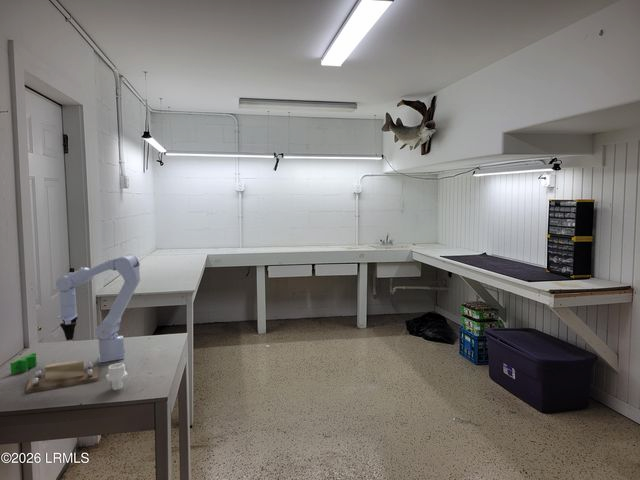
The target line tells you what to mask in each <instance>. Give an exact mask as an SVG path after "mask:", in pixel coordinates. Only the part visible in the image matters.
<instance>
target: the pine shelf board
mask: <svg viewBox="0 0 640 480" xmlns="http://www.w3.org/2000/svg"><path fill="white" fill-rule="evenodd" d="M84 368H85V360H84V359H79V360H72V361H64V362H59V363H52V364H46V365H45V366H44V375H45V377H46V381H52V380H58V379H65V378H71V377H77V376H83V375H84Z"/></svg>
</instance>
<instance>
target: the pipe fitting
mask: <svg viewBox="0 0 640 480" xmlns="http://www.w3.org/2000/svg"><path fill="white" fill-rule="evenodd" d="M125 366H126V365H125V364H124V363H123V362H117V363H112V364H109V366H108V367H107V370H108V372H107V373H108V374H105V378H106V380H107V382H111V387H112V390H114V391H117V389H118V390H121V389H122V388H123V380H124V379H126V378H129V377H128V376H129V375H128V372H127V371H126V368H125Z"/></svg>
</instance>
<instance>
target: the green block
mask: <svg viewBox="0 0 640 480" xmlns="http://www.w3.org/2000/svg"><path fill="white" fill-rule="evenodd" d="M37 366H38V365H37V353H36V352H32V353H30V354H28V355H25V356H24V357H21V358H19V359H16V360H14V361H12V362H10V373H11V375H16V374H17V373H19V372H26V373H27V372H28V371H29V369H32V368H36V367H37Z"/></svg>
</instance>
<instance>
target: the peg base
mask: <svg viewBox="0 0 640 480" xmlns="http://www.w3.org/2000/svg"><path fill="white" fill-rule="evenodd" d="M34 374H35V376H30V379H29V380H28V383H27V385H26V389H25V393H26V394H28V393H33V392H34V393H35V392H39V391H44V390H45V391H47V390H52V389H57V388H63V387H68V386H76V385H80V384H86V383H93V382H98V381H99V375H100V373H99V366H98V365H97V366H94V362H93V361H89V362H88V363H87V367H86V368H85V367H84V375H83V376H77V377H71V378H65V379H58V380H52V381H46V377H45V374H42V369H41V370H40V369H38V370H35V373H34Z"/></svg>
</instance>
